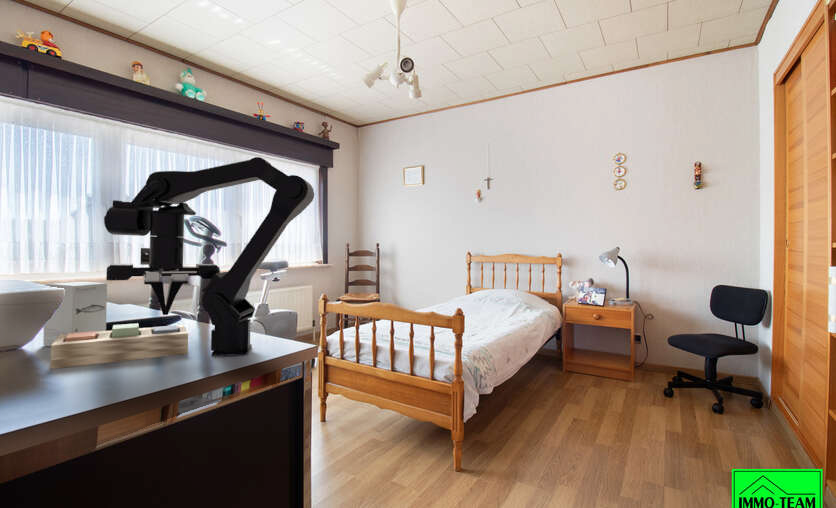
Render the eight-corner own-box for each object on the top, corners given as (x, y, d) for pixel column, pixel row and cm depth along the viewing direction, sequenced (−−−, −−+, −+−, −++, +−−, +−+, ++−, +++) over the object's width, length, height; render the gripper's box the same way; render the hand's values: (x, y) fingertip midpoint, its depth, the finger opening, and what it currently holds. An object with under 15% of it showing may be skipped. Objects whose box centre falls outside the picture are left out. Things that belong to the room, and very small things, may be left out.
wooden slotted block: (183, 343, 86) (183, 324, 86) (187, 353, 79) (188, 333, 79) (59, 355, 75) (59, 334, 74) (51, 368, 67) (51, 345, 67)
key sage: (138, 335, 79) (138, 323, 79) (138, 340, 76) (138, 327, 76) (113, 337, 77) (113, 325, 77) (111, 342, 74) (112, 329, 74)
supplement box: (71, 349, 79) (72, 285, 79) (41, 346, 80) (42, 283, 80) (107, 340, 86) (108, 282, 86) (79, 338, 88) (80, 280, 87)
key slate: (176, 337, 83) (176, 325, 83) (177, 341, 80) (178, 329, 80) (153, 339, 81) (153, 327, 81) (153, 343, 77) (154, 330, 77)
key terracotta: (96, 344, 76) (96, 331, 76) (94, 349, 72) (94, 335, 72) (68, 346, 73) (68, 333, 73) (65, 352, 70) (65, 337, 70)
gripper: (212, 238, 92) (211, 306, 92) (110, 234, 81) (109, 311, 81) (221, 238, 83) (219, 314, 83) (107, 234, 72) (105, 321, 72)
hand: (165, 314), depth 80 cm, fingers closed
